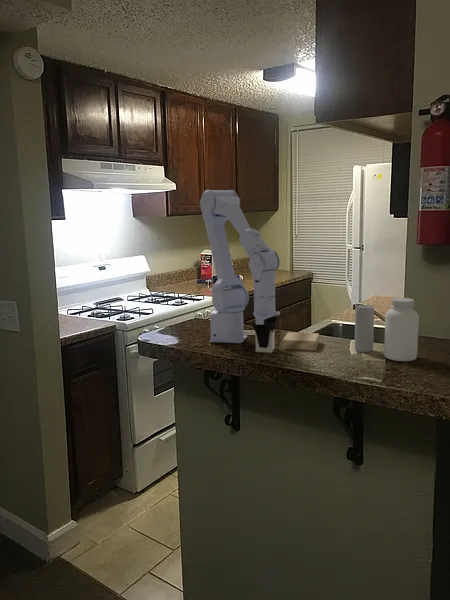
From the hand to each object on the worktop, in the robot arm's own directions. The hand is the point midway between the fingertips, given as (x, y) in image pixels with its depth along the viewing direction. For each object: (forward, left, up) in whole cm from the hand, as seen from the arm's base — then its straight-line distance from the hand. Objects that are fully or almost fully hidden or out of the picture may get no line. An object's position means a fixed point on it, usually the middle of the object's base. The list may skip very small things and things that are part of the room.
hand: (265, 344), depth 139 cm
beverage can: (+26, +4, -2) cm, 26 cm away
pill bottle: (+35, -1, -2) cm, 35 cm away
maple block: (+9, +7, -2) cm, 11 cm away
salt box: (0, 0, -1) cm, 1 cm away
